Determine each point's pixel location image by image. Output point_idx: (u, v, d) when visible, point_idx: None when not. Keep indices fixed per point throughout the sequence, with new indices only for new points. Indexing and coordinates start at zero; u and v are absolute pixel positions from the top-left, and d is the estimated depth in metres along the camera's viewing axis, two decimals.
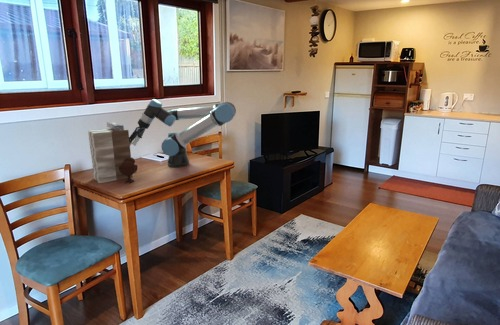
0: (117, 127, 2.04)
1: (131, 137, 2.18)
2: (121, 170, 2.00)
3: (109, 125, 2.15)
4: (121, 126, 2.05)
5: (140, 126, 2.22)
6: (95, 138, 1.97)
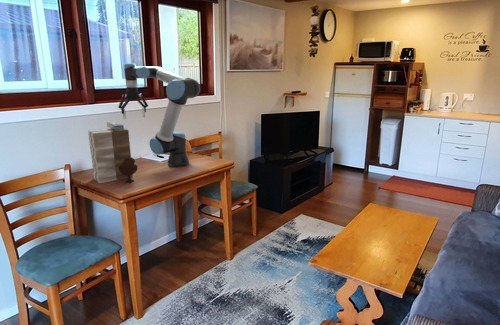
0: (117, 127, 2.04)
1: (119, 104, 2.33)
2: (121, 170, 2.00)
3: (109, 125, 2.15)
4: (121, 126, 2.05)
5: None
6: (95, 138, 1.97)
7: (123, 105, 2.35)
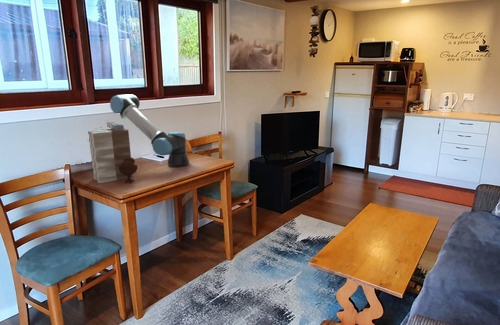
0: (117, 127, 2.04)
1: None
2: (121, 170, 2.00)
3: (109, 125, 2.15)
4: (121, 126, 2.05)
5: None
6: (95, 138, 1.97)
7: None
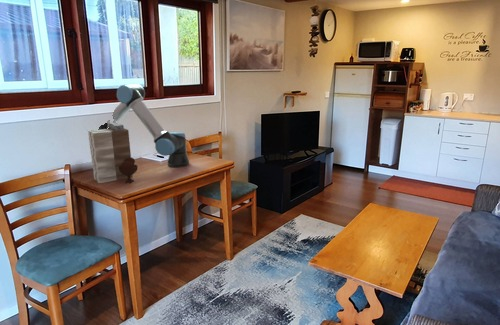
0: (117, 127, 2.04)
1: (100, 128, 2.18)
2: (121, 170, 2.00)
3: (109, 125, 2.15)
4: (121, 126, 2.05)
5: None
6: (95, 138, 1.97)
7: None
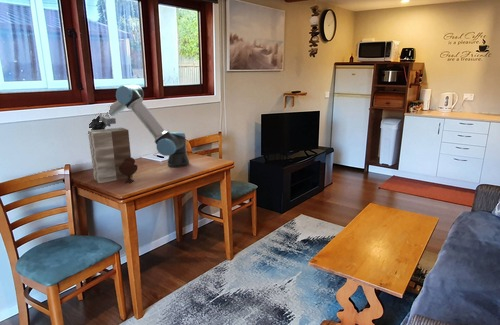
0: (109, 120, 2.01)
1: (92, 121, 2.15)
2: (121, 170, 2.00)
3: None
4: (113, 119, 2.02)
5: None
6: (95, 138, 1.97)
7: None
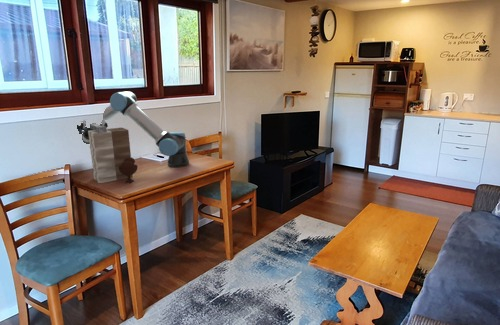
0: (99, 129, 1.98)
1: (77, 128, 2.12)
2: (121, 170, 2.00)
3: (92, 127, 2.09)
4: (104, 128, 2.00)
5: (83, 133, 2.21)
6: (95, 138, 1.97)
7: None
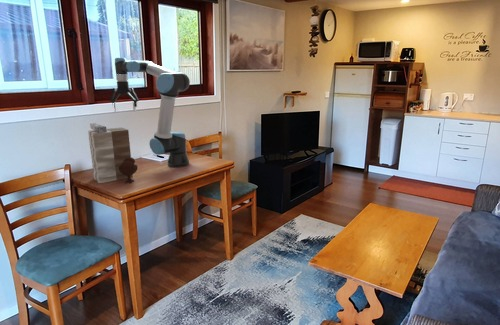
0: (99, 129, 1.98)
1: None
2: (121, 170, 2.00)
3: (92, 127, 2.09)
4: (104, 128, 2.00)
5: None
6: (95, 138, 1.97)
7: (114, 98, 2.42)
